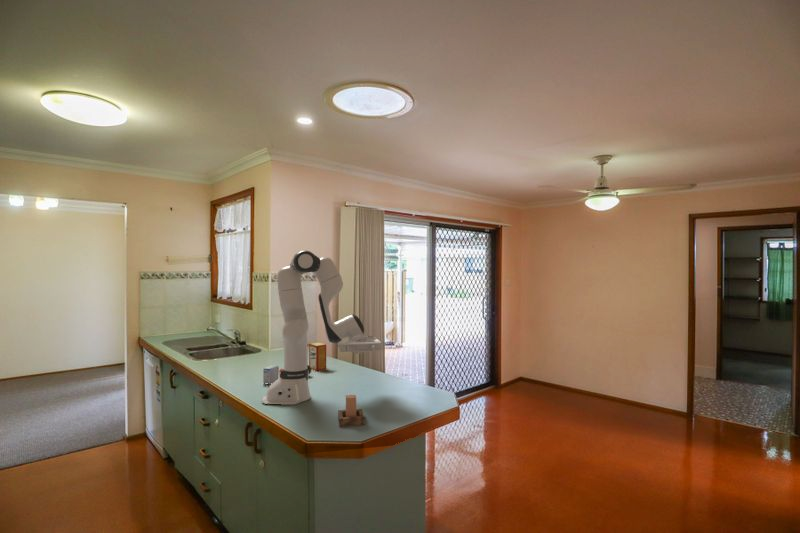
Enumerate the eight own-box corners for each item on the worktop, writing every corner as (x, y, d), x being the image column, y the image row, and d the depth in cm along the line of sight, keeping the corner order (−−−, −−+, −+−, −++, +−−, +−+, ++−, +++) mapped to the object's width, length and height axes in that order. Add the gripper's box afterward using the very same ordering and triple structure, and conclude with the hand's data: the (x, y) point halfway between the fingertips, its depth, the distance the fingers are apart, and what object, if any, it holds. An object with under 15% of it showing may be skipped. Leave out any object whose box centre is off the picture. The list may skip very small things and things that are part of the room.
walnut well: (339, 426, 153) (339, 419, 153) (338, 417, 162) (338, 410, 162) (364, 424, 155) (364, 417, 155) (361, 415, 164) (361, 408, 164)
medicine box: (271, 380, 218) (271, 365, 218) (278, 381, 216) (278, 365, 216) (263, 384, 210) (263, 368, 210) (270, 385, 209) (270, 368, 209)
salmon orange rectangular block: (346, 423, 156) (346, 398, 156) (345, 419, 160) (345, 395, 160) (356, 422, 157) (356, 397, 157) (355, 418, 161) (355, 394, 161)
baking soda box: (309, 368, 244) (309, 343, 244) (318, 366, 248) (318, 341, 249) (317, 371, 237) (317, 345, 237) (326, 369, 242) (326, 343, 242)
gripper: (337, 338, 186) (338, 343, 173) (379, 336, 190) (383, 341, 177) (337, 351, 186) (338, 357, 173) (379, 349, 190) (383, 355, 177)
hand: (361, 349), depth 175 cm, fingers open, 8 cm apart
